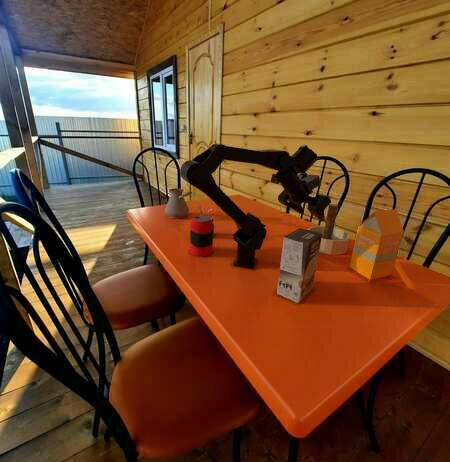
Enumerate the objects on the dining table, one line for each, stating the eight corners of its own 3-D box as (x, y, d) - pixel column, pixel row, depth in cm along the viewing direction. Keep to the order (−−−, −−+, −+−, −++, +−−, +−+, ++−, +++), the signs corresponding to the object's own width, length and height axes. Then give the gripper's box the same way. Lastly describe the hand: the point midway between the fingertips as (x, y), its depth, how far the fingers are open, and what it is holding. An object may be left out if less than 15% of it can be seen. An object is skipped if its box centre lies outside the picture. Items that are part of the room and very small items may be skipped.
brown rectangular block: (333, 249, 90) (342, 207, 85) (319, 247, 92) (326, 206, 86) (332, 244, 95) (340, 204, 90) (318, 242, 96) (325, 202, 91)
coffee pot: (161, 214, 124) (159, 183, 119) (183, 211, 130) (182, 182, 125) (179, 228, 107) (179, 193, 102) (203, 223, 113) (204, 190, 108)
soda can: (199, 245, 92) (199, 213, 88) (216, 250, 88) (217, 217, 84) (185, 252, 86) (185, 219, 82) (204, 259, 82) (204, 224, 78)
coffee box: (299, 304, 62) (308, 244, 57) (276, 293, 66) (282, 236, 60) (313, 288, 69) (323, 233, 63) (291, 279, 72) (298, 226, 67)
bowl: (349, 260, 85) (352, 243, 83) (305, 252, 89) (307, 237, 87) (344, 243, 98) (347, 229, 96) (306, 237, 102) (308, 223, 100)
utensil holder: (210, 239, 97) (211, 209, 93) (195, 236, 99) (195, 207, 95) (216, 234, 102) (216, 205, 98) (201, 231, 104) (202, 203, 100)
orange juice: (348, 268, 79) (361, 207, 73) (369, 264, 82) (384, 205, 76) (369, 282, 72) (386, 215, 66) (391, 277, 75) (410, 213, 69)
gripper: (332, 168, 71) (351, 205, 79) (288, 163, 87) (307, 194, 95) (307, 196, 70) (329, 231, 78) (267, 186, 86) (288, 216, 94)
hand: (312, 216), depth 86 cm, fingers open, 9 cm apart
